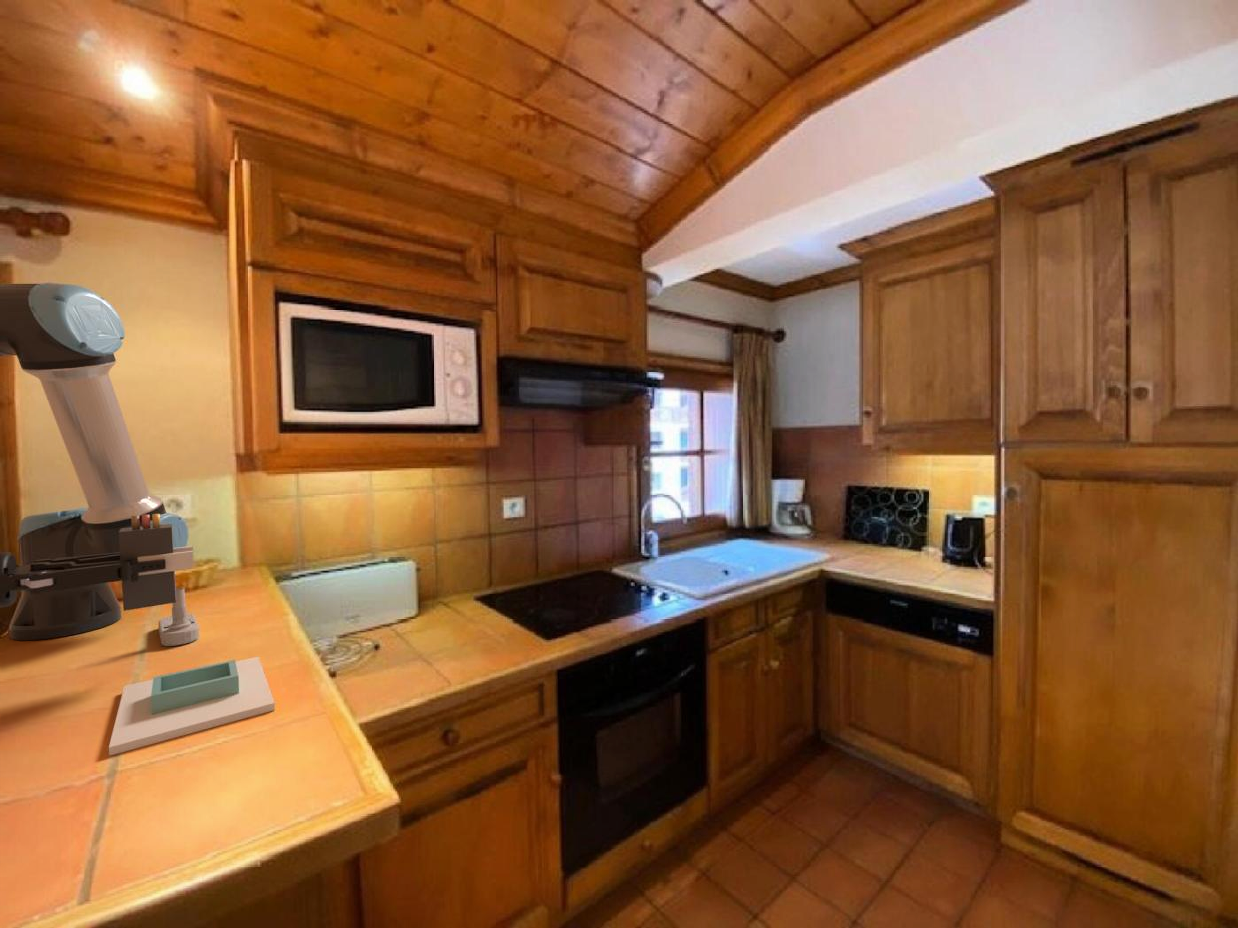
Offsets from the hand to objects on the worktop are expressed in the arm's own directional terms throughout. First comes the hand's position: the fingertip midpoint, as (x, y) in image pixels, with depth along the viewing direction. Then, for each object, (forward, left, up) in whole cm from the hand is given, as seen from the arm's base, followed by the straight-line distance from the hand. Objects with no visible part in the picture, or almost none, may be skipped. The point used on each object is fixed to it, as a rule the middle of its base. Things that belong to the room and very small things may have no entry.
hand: (192, 556), depth 85 cm
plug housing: (0, -5, -7) cm, 9 cm away
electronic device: (-18, -2, -18) cm, 26 cm away
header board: (+17, 0, -17) cm, 24 cm away
